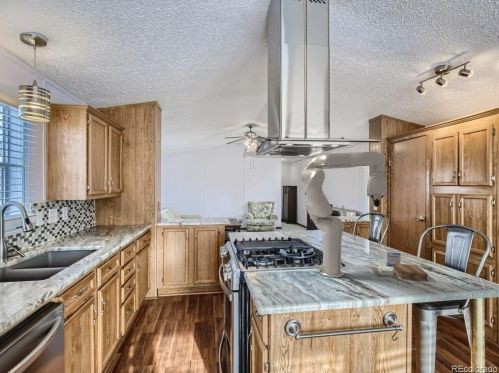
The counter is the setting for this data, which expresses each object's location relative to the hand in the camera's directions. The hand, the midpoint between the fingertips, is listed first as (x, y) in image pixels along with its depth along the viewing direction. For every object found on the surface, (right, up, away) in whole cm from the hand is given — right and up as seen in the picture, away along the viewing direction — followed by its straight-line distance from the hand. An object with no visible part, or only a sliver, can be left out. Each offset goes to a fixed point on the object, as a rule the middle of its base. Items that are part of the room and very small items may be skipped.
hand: (376, 206), depth 159 cm
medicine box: (+15, -38, +11) cm, 42 cm away
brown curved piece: (+15, -38, -8) cm, 41 cm away
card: (+3, -35, -5) cm, 35 cm away
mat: (+2, -37, -5) cm, 38 cm away
